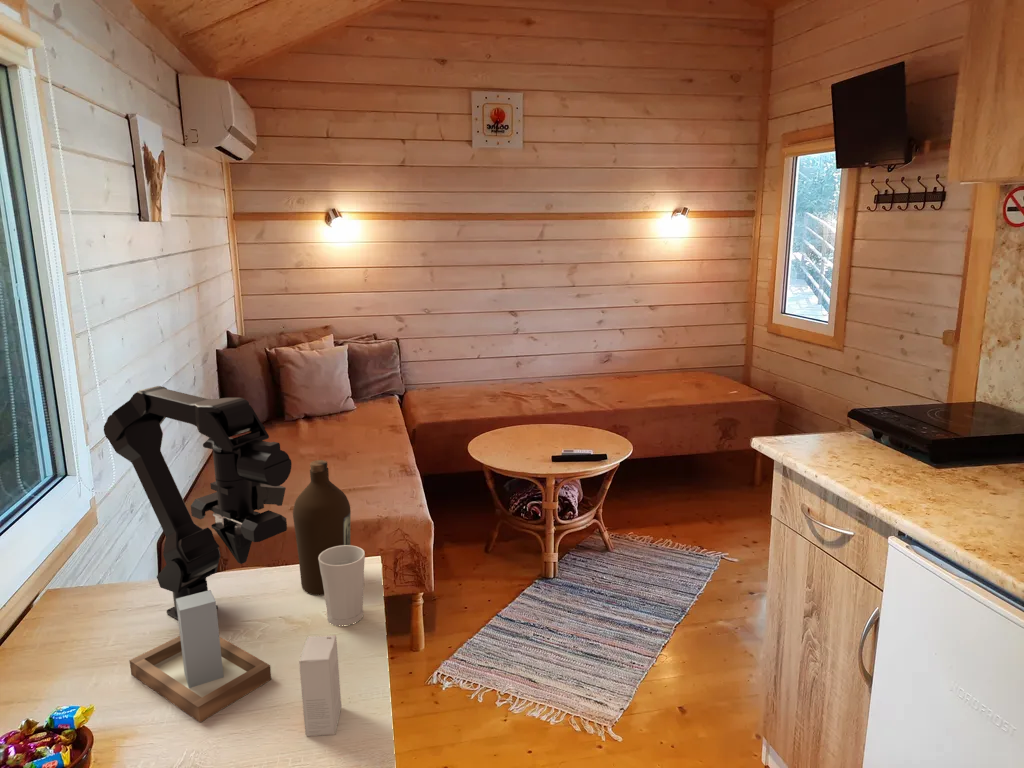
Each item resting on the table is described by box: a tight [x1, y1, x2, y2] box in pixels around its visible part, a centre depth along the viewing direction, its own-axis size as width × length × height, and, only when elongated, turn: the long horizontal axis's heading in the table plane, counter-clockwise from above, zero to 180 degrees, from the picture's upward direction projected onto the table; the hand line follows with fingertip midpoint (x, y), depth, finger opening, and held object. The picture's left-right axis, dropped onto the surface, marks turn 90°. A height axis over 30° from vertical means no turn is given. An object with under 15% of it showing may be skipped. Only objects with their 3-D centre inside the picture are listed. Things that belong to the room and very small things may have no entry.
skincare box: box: [298, 634, 342, 737], centre depth 101 cm, size 6×4×12 cm
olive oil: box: [292, 459, 352, 596], centre depth 138 cm, size 11×11×25 cm
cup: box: [318, 544, 366, 627], centre depth 128 cm, size 8×8×12 cm
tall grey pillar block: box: [176, 589, 224, 688], centre depth 110 cm, size 4×5×13 cm
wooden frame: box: [129, 635, 272, 723], centre depth 112 cm, size 19×12×2 cm, turn 54°
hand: (242, 562), depth 122 cm, fingers closed
